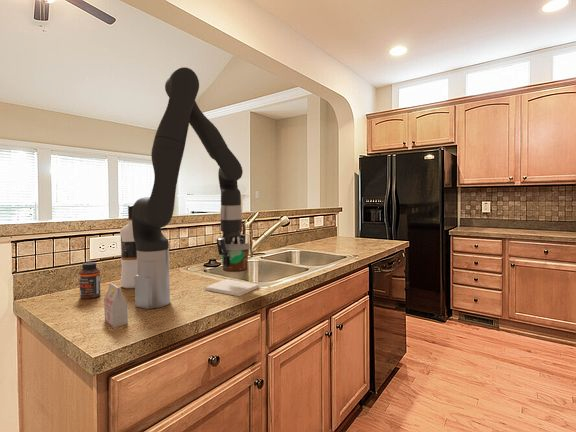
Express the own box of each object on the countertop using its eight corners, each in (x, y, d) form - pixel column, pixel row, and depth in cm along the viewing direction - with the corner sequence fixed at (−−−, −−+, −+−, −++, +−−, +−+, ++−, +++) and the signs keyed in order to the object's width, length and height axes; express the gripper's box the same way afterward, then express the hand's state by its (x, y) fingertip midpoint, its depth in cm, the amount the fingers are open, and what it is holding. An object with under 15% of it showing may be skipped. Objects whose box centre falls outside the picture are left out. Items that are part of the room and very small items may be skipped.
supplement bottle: (77, 300, 110) (75, 265, 109) (83, 294, 115) (81, 261, 114) (97, 298, 111) (96, 264, 110) (102, 293, 117) (101, 260, 116)
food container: (212, 270, 122) (211, 243, 121) (222, 267, 127) (222, 240, 126) (240, 274, 116) (240, 245, 115) (250, 270, 121) (250, 243, 121)
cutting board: (239, 296, 114) (239, 292, 113) (205, 290, 121) (205, 286, 121) (259, 287, 124) (259, 284, 124) (226, 282, 131) (226, 279, 131)
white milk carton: (119, 317, 95) (118, 281, 94) (127, 323, 90) (126, 286, 89) (104, 320, 92) (103, 284, 92) (113, 327, 87) (111, 289, 87)
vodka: (147, 287, 124) (144, 205, 122) (119, 290, 121) (115, 206, 119) (148, 281, 133) (145, 204, 131) (122, 283, 130) (119, 205, 127)
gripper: (226, 220, 113) (227, 270, 114) (251, 216, 125) (251, 262, 127) (209, 219, 116) (210, 268, 117) (234, 216, 129) (235, 260, 130)
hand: (232, 264), depth 122 cm, fingers closed on food container, 5 cm apart
